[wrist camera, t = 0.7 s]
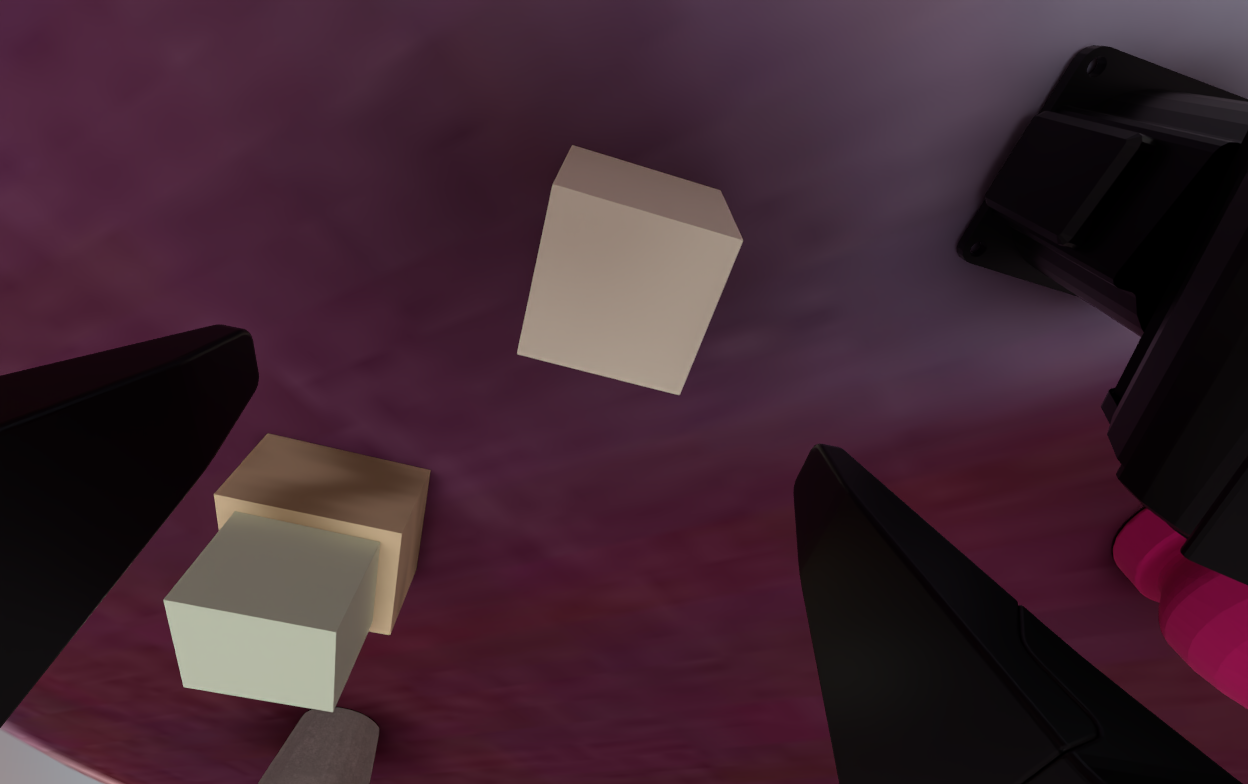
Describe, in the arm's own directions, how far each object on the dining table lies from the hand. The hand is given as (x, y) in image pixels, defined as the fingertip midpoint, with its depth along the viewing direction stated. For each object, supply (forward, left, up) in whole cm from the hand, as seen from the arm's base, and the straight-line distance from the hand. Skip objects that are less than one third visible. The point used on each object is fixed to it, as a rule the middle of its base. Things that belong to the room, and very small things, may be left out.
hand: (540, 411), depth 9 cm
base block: (+8, +17, -12) cm, 22 cm away
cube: (-1, +1, -12) cm, 12 cm away
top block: (+8, +17, -8) cm, 20 cm away
